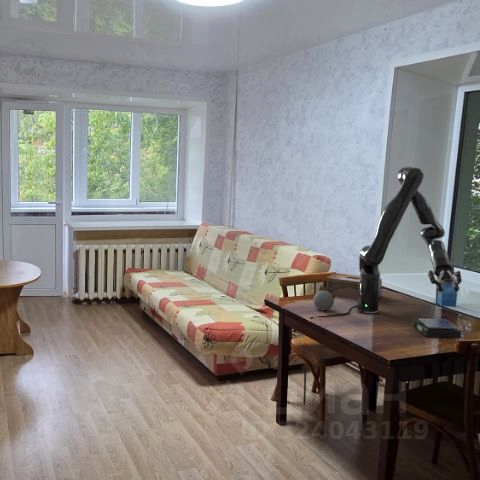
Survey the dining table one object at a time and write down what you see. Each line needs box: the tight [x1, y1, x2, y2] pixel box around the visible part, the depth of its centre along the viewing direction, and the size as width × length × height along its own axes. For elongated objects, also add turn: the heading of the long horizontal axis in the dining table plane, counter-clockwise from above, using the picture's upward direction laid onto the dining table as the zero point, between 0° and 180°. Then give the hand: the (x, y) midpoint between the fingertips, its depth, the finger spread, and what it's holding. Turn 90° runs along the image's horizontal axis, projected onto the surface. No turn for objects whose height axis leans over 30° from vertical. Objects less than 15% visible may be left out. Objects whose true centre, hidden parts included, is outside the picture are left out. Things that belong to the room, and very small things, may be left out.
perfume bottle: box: [437, 279, 458, 308], centre depth 242 cm, size 6×6×12 cm
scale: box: [414, 319, 462, 339], centre depth 232 cm, size 14×14×3 cm
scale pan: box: [417, 318, 459, 329], centre depth 231 cm, size 12×12×1 cm
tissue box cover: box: [325, 272, 383, 301], centre depth 292 cm, size 26×14×10 cm, turn 52°
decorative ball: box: [312, 290, 335, 311], centre depth 266 cm, size 10×10×10 cm
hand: (449, 291), depth 240 cm, fingers closed on perfume bottle, 6 cm apart
